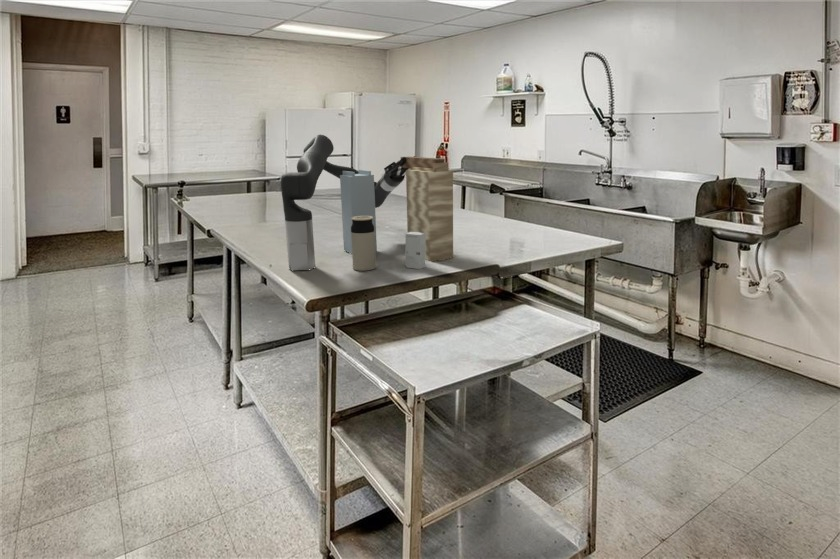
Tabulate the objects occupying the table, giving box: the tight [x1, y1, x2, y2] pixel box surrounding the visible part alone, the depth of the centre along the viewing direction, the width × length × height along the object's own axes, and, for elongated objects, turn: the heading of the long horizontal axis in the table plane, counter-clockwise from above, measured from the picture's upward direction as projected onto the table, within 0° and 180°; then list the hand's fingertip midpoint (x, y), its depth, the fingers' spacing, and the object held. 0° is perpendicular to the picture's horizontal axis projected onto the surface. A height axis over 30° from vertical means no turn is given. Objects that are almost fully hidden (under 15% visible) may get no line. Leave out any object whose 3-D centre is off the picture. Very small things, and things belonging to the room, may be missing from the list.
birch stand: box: [405, 161, 454, 262], centre depth 207 cm, size 16×10×35 cm, turn 33°
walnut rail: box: [400, 156, 446, 169], centre depth 207 cm, size 24×4×4 cm, turn 33°
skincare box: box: [405, 232, 426, 270], centre depth 194 cm, size 6×4×12 cm
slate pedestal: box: [339, 169, 378, 255], centre depth 217 cm, size 9×10×32 cm
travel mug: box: [351, 216, 377, 272], centre depth 192 cm, size 8×8×18 cm
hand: (410, 158), depth 213 cm, fingers closed on walnut rail, 4 cm apart
